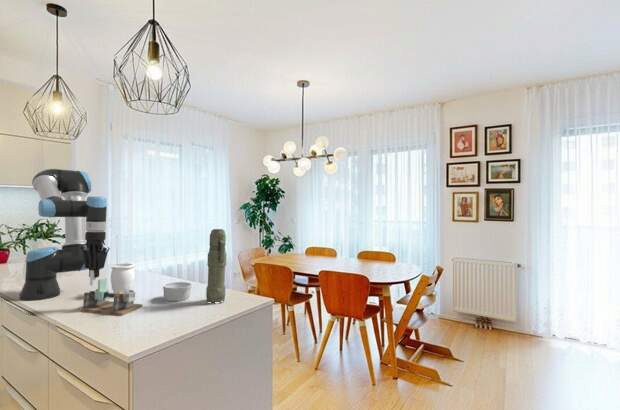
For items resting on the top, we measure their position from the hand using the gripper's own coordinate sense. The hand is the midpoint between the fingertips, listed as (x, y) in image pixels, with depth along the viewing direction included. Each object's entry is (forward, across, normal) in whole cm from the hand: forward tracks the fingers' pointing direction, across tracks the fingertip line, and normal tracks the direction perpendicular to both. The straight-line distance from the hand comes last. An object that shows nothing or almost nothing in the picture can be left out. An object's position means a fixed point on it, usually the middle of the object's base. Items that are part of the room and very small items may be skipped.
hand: (93, 284), depth 142 cm
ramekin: (+11, +26, +22) cm, 36 cm away
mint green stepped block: (+6, +4, 0) cm, 7 cm away
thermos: (+11, +46, +23) cm, 53 cm away
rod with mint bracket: (+10, +10, 0) cm, 14 cm away
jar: (+10, -4, +21) cm, 24 cm away
